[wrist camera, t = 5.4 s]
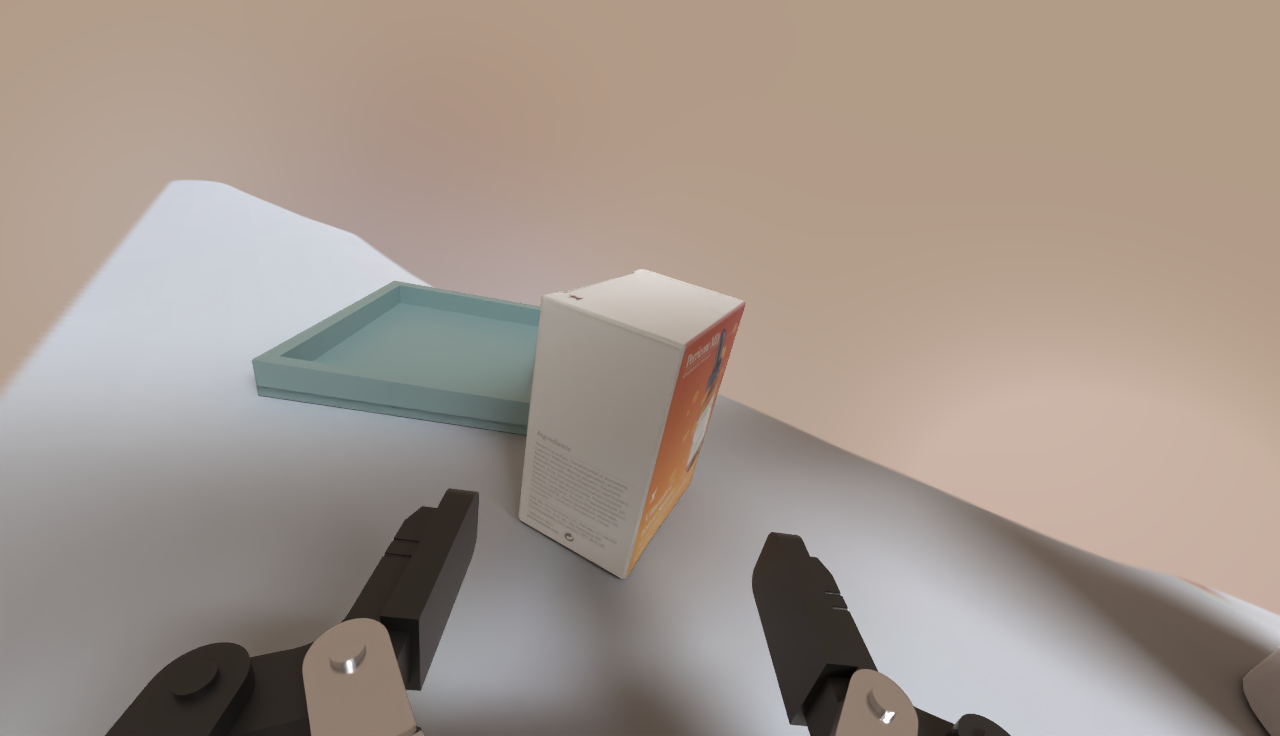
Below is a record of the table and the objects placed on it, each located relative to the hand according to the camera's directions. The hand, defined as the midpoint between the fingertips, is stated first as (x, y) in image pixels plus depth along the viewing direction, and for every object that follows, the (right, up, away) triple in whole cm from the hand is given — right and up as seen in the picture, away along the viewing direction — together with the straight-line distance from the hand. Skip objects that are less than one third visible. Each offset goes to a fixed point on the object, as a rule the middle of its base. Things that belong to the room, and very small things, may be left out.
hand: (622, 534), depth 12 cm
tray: (-13, +5, +19) cm, 24 cm away
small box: (-1, -2, +10) cm, 10 cm away
